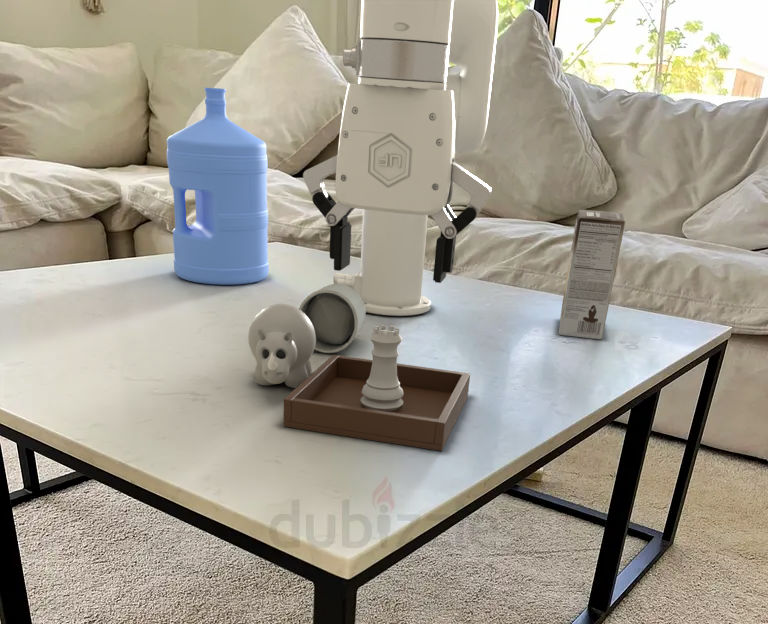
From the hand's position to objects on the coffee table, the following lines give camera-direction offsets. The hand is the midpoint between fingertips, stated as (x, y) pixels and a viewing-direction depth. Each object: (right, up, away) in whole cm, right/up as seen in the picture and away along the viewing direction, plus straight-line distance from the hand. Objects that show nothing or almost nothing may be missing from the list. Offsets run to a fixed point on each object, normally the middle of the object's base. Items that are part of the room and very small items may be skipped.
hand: (390, 273), depth 74 cm
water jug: (-28, +17, +58) cm, 66 cm away
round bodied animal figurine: (-12, -10, +10) cm, 18 cm away
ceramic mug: (-8, -1, +26) cm, 27 cm away
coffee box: (+28, +4, +40) cm, 50 cm away
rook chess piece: (-1, -12, +6) cm, 13 cm away
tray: (-1, -12, +6) cm, 14 cm away
